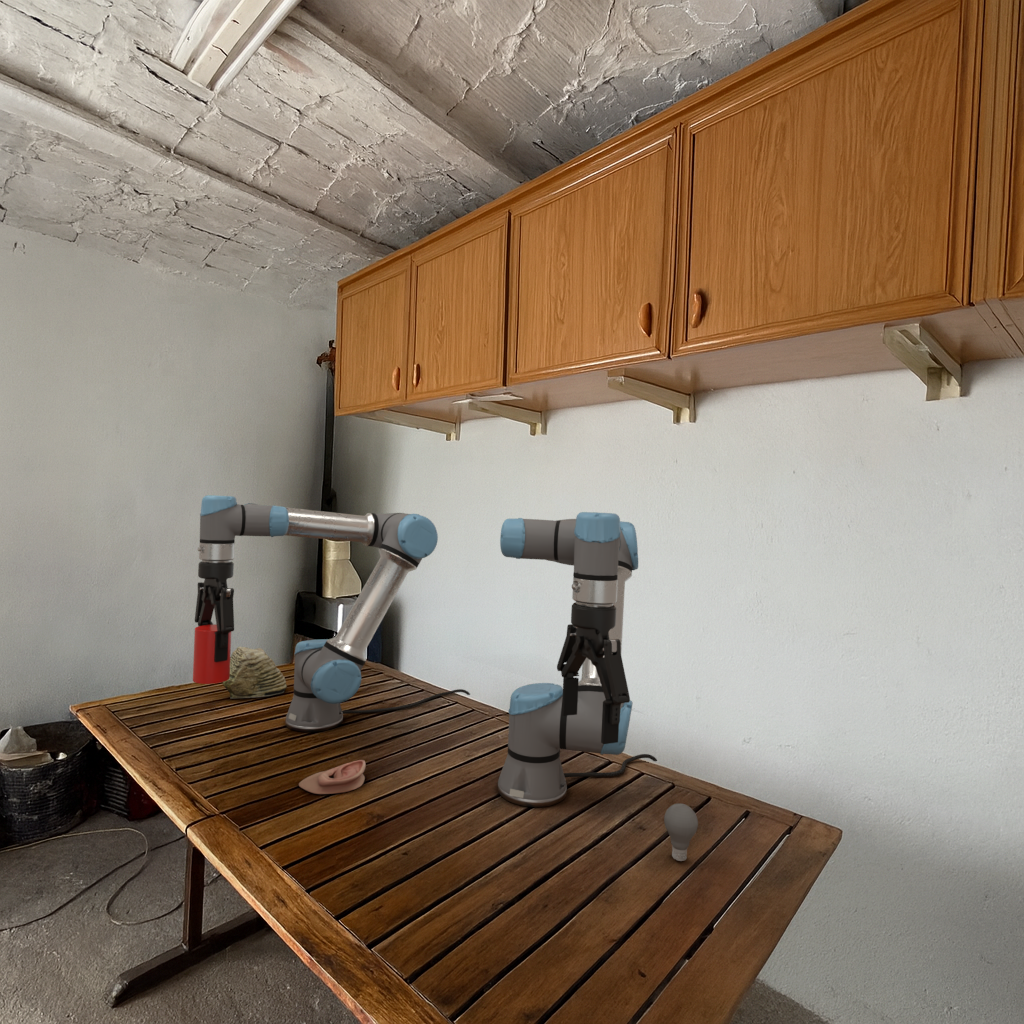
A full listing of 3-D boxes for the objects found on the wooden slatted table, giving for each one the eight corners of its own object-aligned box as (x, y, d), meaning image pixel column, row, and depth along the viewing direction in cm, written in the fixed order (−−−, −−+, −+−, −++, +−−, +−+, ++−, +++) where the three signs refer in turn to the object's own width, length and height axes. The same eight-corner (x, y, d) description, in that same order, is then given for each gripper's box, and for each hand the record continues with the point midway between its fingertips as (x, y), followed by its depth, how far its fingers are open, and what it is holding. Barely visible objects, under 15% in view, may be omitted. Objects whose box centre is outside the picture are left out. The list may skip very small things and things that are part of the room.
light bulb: (658, 850, 118) (660, 797, 118) (689, 850, 119) (691, 797, 119) (668, 869, 112) (671, 813, 112) (701, 868, 113) (704, 813, 113)
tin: (191, 685, 144) (193, 631, 144) (193, 675, 151) (195, 624, 151) (229, 682, 147) (231, 630, 147) (229, 673, 155) (231, 623, 154)
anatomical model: (291, 772, 135) (318, 751, 147) (291, 790, 136) (317, 768, 147) (349, 780, 133) (372, 758, 144) (348, 799, 133) (371, 776, 144)
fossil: (218, 695, 195) (220, 647, 195) (278, 685, 208) (279, 640, 207) (228, 703, 189) (230, 653, 188) (289, 692, 201) (290, 645, 201)
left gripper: (181, 557, 153) (177, 651, 153) (220, 566, 139) (216, 669, 140) (212, 556, 159) (209, 646, 159) (253, 564, 145) (249, 663, 145)
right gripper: (542, 592, 117) (537, 706, 118) (614, 617, 94) (608, 759, 95) (577, 591, 120) (572, 702, 121) (656, 616, 97) (650, 753, 98)
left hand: (212, 657), depth 149 cm, fingers closed on tin, 8 cm apart
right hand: (588, 727), depth 108 cm, fingers open, 13 cm apart
